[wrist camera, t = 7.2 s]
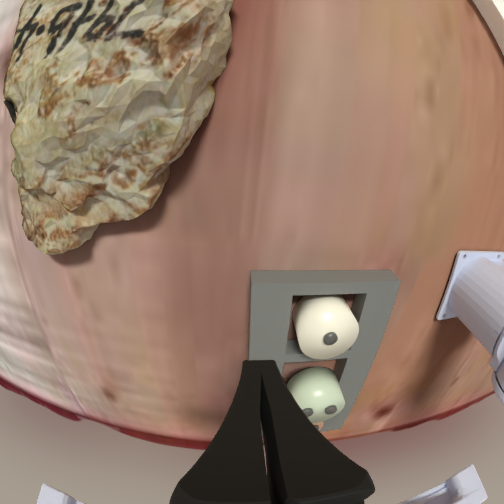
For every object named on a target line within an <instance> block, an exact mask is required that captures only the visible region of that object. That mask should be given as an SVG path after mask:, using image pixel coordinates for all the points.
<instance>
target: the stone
mask: <svg viewBox="0 0 504 504" xmlns="http://www.w3.org/2000/svg"><path fill="white" fill-rule="evenodd" d="M234 1H235V0H25V2H24V4H23V5H22V7H21V9H20V14H19V20H18V24H17V28H16V32H15V37H14V42H13V48H12V54H11V59H10V63H9V66H8V69H7V72H6V76H5V80H4V89H3V93H4V99H6V100H5V101H4V103H5V105H6V107H7V109H8V110H9V113H10V115H11V118H12V121H13V122H14V124H15V128H14V130H13V132H12V133H11V143H12V146H13V148H14V150H15V158H14V159H13V161H12V164H11V171H12V174H13V176H14V177H15V178H16V180H17V182H18V184H19V185H18V192H19V195H20V201H21V205H22V212H21V214H22V215H23V223H22V226H23V229H24V232H25V234H26V236H27V238H28V240H30V241H33V243H34V244H35V246H36V247H37V248H38V249H39V250H40V251H41V252H43V253H46V254H50V255H56V254H62V253H65V252H67V251H69V250H72V249H75V248H78V247H80V246H81V245H82V244H83V243H84V242H85V241H86V240H89V239H91V238H92V236H93V234H94V232H95V230H96V229H97V228H98V226H99V224H100V223H106V222H108V223H114V222H118V221H121V220H131V219H134V218H137V217H138V216H139V215H141V214H142V213H144V212H146V211H148V210H149V209H151V208H152V207H153V205H154V204H155V202H156V200H157V199H158V197H159V196H160V194H161V192H162V190H163V187H164V184H165V182H166V181H167V180H168V178H169V177H170V166H169V165H170V164H171V163H172V162H173V161H175V160H176V159H178V158H179V157H180V156H182V154H183V152H184V150H185V149H186V147H187V146H188V145H189V143H190V141H191V138H192V137H193V135H194V133H195V132H196V131H197V129H198V128H199V127H200V125H201V124H202V121H203V119H204V118H205V117H207V116H208V114H209V111H210V109H211V107H212V105H213V102H214V99H215V91H214V89H213V86H212V84H213V82H214V80H215V79H216V78H217V77H218V76H220V75H221V73H222V71H223V70H224V69H225V68H226V54H227V52H228V50H229V47H230V45H231V43H232V29H231V21H230V17H229V11H230V9H231V7H232V5H233V3H234ZM15 112H17V117H16V113H15Z"/></svg>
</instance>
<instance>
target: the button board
mask: <svg viewBox="0 0 504 504" xmlns="http://www.w3.org/2000/svg"><path fill="white" fill-rule="evenodd" d="M400 282H401V280H400V279H399V278H398V277H397V276H396V275H395V274H394V273H393V272H392V271H391V270H332V271H254V270H251V274H250V310H249V346H248V360H274V361H276V364H277V366H278V369H279V371H280V374H281V376H282V371H283V365H284V363H291V362H308V361H321V360H332V359H337V362H336V365H335V368H334V373H335V374H336V377H337V380H338V383H339V386H340V389H341V392H342V394H343V397H344V400H345V405H344V408H343V409H342V410H341V411H340V412H339V413H338V414H337V415H336V416H334V417H332V418H330V419H328V420H326V421H323V423H324V425H323V427H322V428H321V429H320V430H319V432H322V431H329V430H335V429H341V427H342V425H343V424H344V422H345V420H346V418H347V416H348V414H349V412H350V410H351V408H352V406H353V404H354V402H355V400H356V398H357V396H358V394H359V392H360V390H361V388H362V386H363V383H364V381H365V379H366V377H367V375H368V372H369V370H370V368H371V365H372V363H373V360H374V358H375V356H376V353H377V351H378V348H379V345H380V343H381V340H382V337H383V335H384V332H385V329H386V326H387V324H388V321H389V318H390V315H391V312H392V309H393V306H394V302H395V299H396V296H397V292H398V289H399V286H400ZM332 294H355V296H354V301H353V305H352V309H351V312H352V313H353V315H354V317H355V319H356V320H357V322H358V325H359V333H358V336H357V339H356V341H355V342H354V343H353V345H352V346H351V347H350V348H349V349H348V350H346V351H345V352H344V353H342V354H340V355H338V356H336V357H333V358H329V359H313V358H310V357H308V356H306V355H305V354H304V353H303V352H302V351H301V349H300V346H299V342H298V339H290V340H287V337H288V329H289V322H290V314H291V306H292V297H293V295H332ZM260 422H261V421H260ZM261 432H262V427H261ZM262 437H263V433H262Z"/></svg>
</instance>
